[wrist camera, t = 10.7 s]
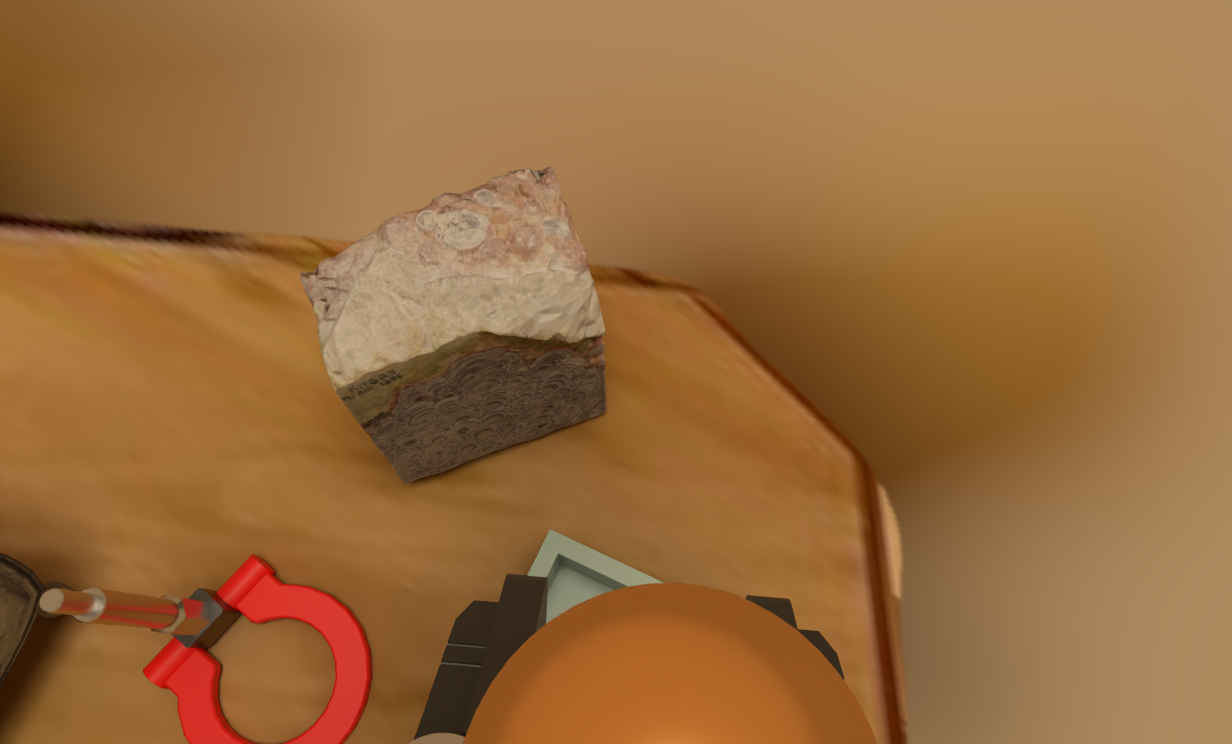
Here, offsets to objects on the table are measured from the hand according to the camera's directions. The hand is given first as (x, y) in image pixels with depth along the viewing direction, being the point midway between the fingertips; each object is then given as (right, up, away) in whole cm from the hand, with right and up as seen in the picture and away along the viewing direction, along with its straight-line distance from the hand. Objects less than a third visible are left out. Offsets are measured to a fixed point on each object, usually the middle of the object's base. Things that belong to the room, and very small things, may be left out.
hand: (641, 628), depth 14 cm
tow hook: (-16, -10, +23) cm, 30 cm away
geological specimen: (-7, +3, +28) cm, 29 cm away
